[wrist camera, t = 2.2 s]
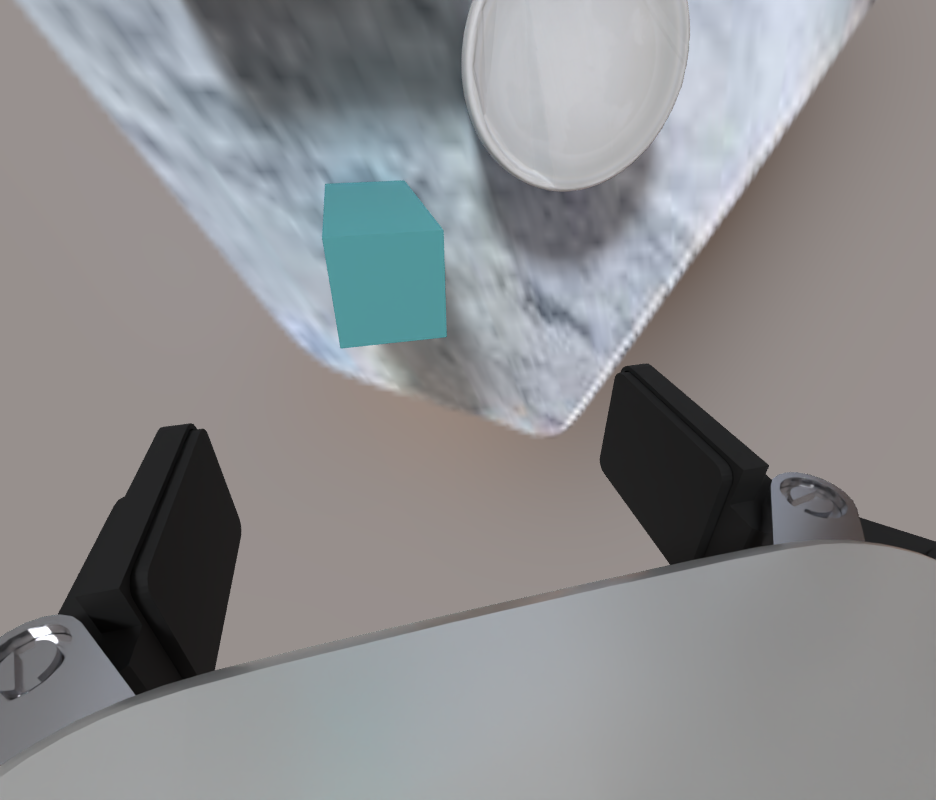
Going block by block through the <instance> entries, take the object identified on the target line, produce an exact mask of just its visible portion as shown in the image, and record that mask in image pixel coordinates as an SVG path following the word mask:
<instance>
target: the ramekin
mask: <svg viewBox="0 0 936 800" xmlns="http://www.w3.org/2000/svg"><path fill="white" fill-rule="evenodd" d="M689 39H690V19H689V8H688V1H687V0H473V1H472V4H471V7H470V10H469V13H468V17H467V21H466V26H465V31H464V37H463V45H462V83H463V90H464V97H465V101H466V106H467V110H468V113H469V116H470V119H471V122H472V124H473V127H474V129H475V131H476V133H477V135H478V137H479V139H480V141H481V142H482V144H483V145H484V147H485V148H486V150H487V151H488V152H489V154H490V155H491V156H492V158H493V159H494V160H495V161H496V162H497V163H498V164H499V165H500V166H501V167H502V168H503V169H504V170H506V171H507V172H508V173H510V174H511V175H512V176H514V177H515V178H517V179H519V180H521V181H523V182H525V183H527V184H529V185H532V186H534V187H537V188H541V189H545V190H550V191H559V192H567V191H576V190H582V189H586V188H590V187H592V186H596V185H598V184H601V183H603V182H605V181H607V180H609V179H611V178H612V177H614V176H616V175H617V174H619V173H620V172H622V171H623V170H625V169H626V168H627V167H628V166H629V165H631V164H632V163H633V162H634V161H635V160H636V159H637V158H638V157H639V156H640V155H641V154H642V153H643V152H644V151H645V150H646V149H647V148H648V147H649V145H650V144H651V143H652V142H653V141H654V139H655V138H656V136H657V135H658V133H659V132H660V131H661V129H662V127H663V125H664V124H665V122H666V120H667V119H668V117H669V115H670V113H671V111H672V109H673V106H674V104H675V102H676V99H677V97H678V94H679V91H680V89H681V87H682V83H683V78H684V73H685V69H686V65H687V59H688V51H689Z"/></svg>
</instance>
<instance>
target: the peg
mask: <svg viewBox="0 0 936 800" xmlns="http://www.w3.org/2000/svg"><path fill="white" fill-rule="evenodd" d="M322 240H323V246H324V252H325V258H326V264H327V270H328V276H329V282H330V288H331V294H332V300H333V306H334V312H335V318H336V324H337V330H338V336H339V342H340V348H350V347H359V346H368V345H378V344H387V343H396V342H406V341H415V340H424V339H434V338H443V337H447V329H446V296H445V264H444V231H443V229H442V228H441V226H440V225H439V224H438V223H437V221H436V220H435V219H434V218H433V216H432V215H431V214H430V213H429V211H428V210H427V209H426V207H425V206H424V205H423V204H422V202H421V201H420V200H419V199H418V197H417V196H416V195H415V194H414V192H413V191H412V190H411V188H410V187H409V186H408V185H407V183H406V182H405V181H382V182H359V183H335V184H325V197H324V215H323V232H322Z"/></svg>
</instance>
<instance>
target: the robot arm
mask: <svg viewBox="0 0 936 800" xmlns="http://www.w3.org/2000/svg"><path fill="white" fill-rule="evenodd" d="M600 465H601V468H602V471H603V472H604V474H605V475H606V477H607V478H608V479H609V481H610V482H611V483H612V485H613V486H614V488H615V489H616V490H617V492H618V493H619V494H620V496H621V497H622V499H623V500H624V501H625V503H626V504H627V505H628V507H629V508H630V510H631V511H632V512H633V514H634V515H635V517H636V518H637V519H638V521H639V522H640V524H641V525H642V526H643V528H644V529H645V530H646V532H647V533H648V535H649V536H650V537H651V539H652V540H653V541H654V543H655V544H656V546H657V547H658V548H659V550H660V551H661V552H662V554H663V555H664V557H665V558H666V559H667V561H668V562H669V564H670V565H668V566H664V567H659V568H655V569H650V570H646V571H641V572H637V573H632V574H628V575H623V576H619V577H614V578H609V579H605V580H600V581H596V582H592V583H587V584H582V585H578V586H573V587H569V588H564V589H560V590H556V591H551V592H547V593H542V594H538V595H533V596H529V597H524V598H520V599H516V600H511V601H507V602H503V603H498V604H494V605H490V606H485V607H481V608H476V609H472V610H467V611H463V612H459V613H455V614H450V615H445V616H441V617H437V618H432V619H428V620H424V621H419V622H415V623H411V624H407V625H403V626H398V627H394V628H389V629H385V630H381V631H376V632H372V633H368V634H363V635H359V636H355V637H350V638H346V639H342V640H337V641H333V642H329V643H324V644H320V645H316V646H312V647H307V648H303V649H299V650H296V651H292V652H288V653H283V654H279V655H275V656H271V657H267V658H263V659H260V660H255V661H251V662H247V663H243V664H239V665H235V666H231V667H227V668H223V669H219V670H215V665H216V661H217V655H218V650H219V645H220V640H221V635H222V630H223V625H224V620H225V615H226V610H227V604H228V599H229V594H230V589H231V584H232V579H233V574H234V569H235V563H236V559H237V553H238V548H239V543H240V538H241V524H240V519H239V517H238V514H237V511H236V509H235V506H234V503H233V500H232V498H231V495H230V493H229V490H228V487H227V485H226V482H225V479H224V476H223V474H222V471H221V468H220V466H219V463H218V460H217V458H216V455H215V452H214V450H213V447H212V444H211V441H210V439H209V436H208V434H207V432H206V430H205V429H198V430H197V428H196V427H195V426H194V424H183V425H175V426H168V427H162V428H160V429H159V430H158V432H157V434H156V436H155V438H154V440H153V442H152V444H151V446H150V448H149V450H148V452H147V454H146V456H145V458H144V460H143V462H142V464H141V466H140V468H139V470H138V472H137V474H136V476H135V478H134V480H133V482H132V483H131V486H130V488H129V489H128V491H127V493H126V495H125V497H123V498H121V499H119V500H118V501H117V503H116V504H115V505H114V507H113V509H112V511H111V513H110V515H109V517H108V518H107V520H106V522H105V524H104V526H103V528H102V530H101V532H100V534H99V536H98V538H97V540H96V542H95V544H94V546H93V547H92V549H91V551H90V553H89V555H88V557H87V559H86V561H85V563H84V565H83V567H82V569H81V571H80V573H79V574H78V577H77V579H76V580H75V582H74V584H73V586H72V588H71V590H70V592H69V594H68V596H67V598H66V600H65V602H64V603H63V605H62V607H61V609H60V611H59V613H58V615H52V616H45V617H41V618H38V619H35V620H32V621H29V622H26V623H24V624H22V625H20V626H18V627H16V628H15V629H13V630H11V631H9V632H7V633H5V634H4V635H3V636H1V637H0V800H936V542H935V541H932V540H929V539H926V538H923V537H919V536H916V535H913V534H910V533H907V532H904V531H900V530H897V529H894V528H891V527H888V526H885V525H882V524H878V523H875V522H872V521H869V520H866V519H862V518H860V517H859V514H858V510H857V508H856V506H855V504H854V502H853V500H852V499H851V498H850V497H849V496H848V495H847V494H846V493H845V492H844V491H842V490H841V489H840V488H838V487H837V486H835V485H834V484H832V483H830V482H827V481H826V480H824V479H821V478H818V477H815V476H812V475H808V474H803V473H798V472H789V473H783V474H779V475H777V476H776V477H775V478H773V479H772V480H771V479H770V478H769V477H768V476H767V475H766V471H767V469H768V467H769V465H768V464H767V463H765V462H764V461H763V460H762V459H761V458H759V456H757V455H756V454H755V453H754V452H752V451H751V450H750V449H749V448H748V447H747V446H745V445H744V444H743V443H742V442H741V441H740V440H738V439H737V438H736V437H735V436H734V435H732V434H731V433H730V432H729V431H728V430H727V429H726V428H724V427H723V426H722V425H721V424H720V423H718V422H717V421H716V420H715V419H714V418H713V417H711V416H710V415H709V414H708V413H707V412H705V411H704V410H703V409H702V408H701V407H700V406H698V405H697V404H696V403H695V402H694V401H692V400H691V399H690V398H689V397H688V396H686V395H685V394H684V393H683V392H682V391H681V390H679V389H678V388H677V387H676V386H675V385H674V384H672V383H671V382H670V381H669V380H668V379H667V378H665V377H664V376H663V375H662V374H661V373H659V372H658V371H657V370H656V369H655V368H654V367H652V366H651V365H649V364H639V365H631V366H625V367H624V368H623V369H622V370H621V373H618V374H617V375H616V376H615V380H614V385H613V390H612V396H611V402H610V407H609V412H608V418H607V423H606V428H605V433H604V439H603V445H602V450H601V455H600Z"/></svg>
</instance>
